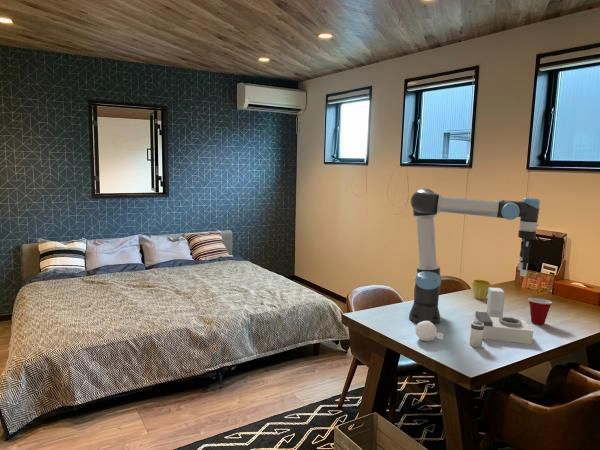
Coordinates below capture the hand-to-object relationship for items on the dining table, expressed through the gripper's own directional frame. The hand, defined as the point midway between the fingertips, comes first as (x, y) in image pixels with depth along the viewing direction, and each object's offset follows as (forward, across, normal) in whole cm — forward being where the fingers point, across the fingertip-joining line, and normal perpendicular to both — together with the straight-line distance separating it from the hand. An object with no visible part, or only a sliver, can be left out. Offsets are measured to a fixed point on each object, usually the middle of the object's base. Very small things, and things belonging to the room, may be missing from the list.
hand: (522, 273), depth 219 cm
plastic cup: (+26, +8, -10) cm, 30 cm away
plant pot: (+27, +41, +17) cm, 52 cm away
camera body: (+26, -19, +7) cm, 33 cm away
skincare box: (+27, +4, +10) cm, 29 cm away
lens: (+26, -37, +18) cm, 49 cm away
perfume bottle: (+27, -43, +37) cm, 63 cm away
